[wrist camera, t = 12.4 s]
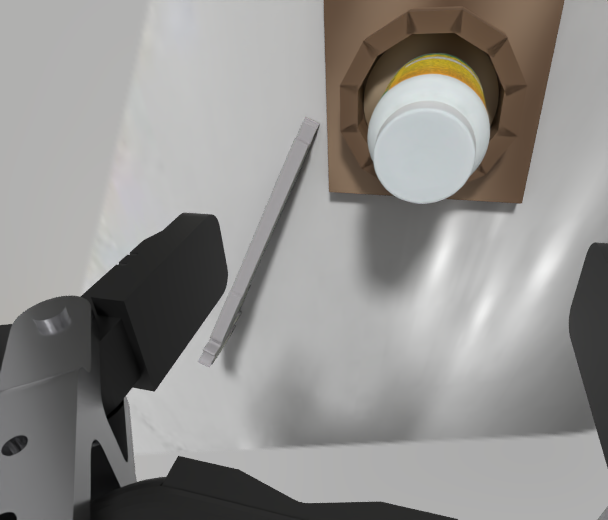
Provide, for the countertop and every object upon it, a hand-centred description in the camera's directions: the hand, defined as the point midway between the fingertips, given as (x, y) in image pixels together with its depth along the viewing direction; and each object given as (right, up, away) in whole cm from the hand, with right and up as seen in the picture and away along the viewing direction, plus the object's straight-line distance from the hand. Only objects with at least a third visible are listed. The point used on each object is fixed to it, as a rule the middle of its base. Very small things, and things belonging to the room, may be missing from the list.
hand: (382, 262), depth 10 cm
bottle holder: (+6, +10, +17) cm, 20 cm away
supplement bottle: (+6, +9, +16) cm, 19 cm away
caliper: (-5, +2, +26) cm, 27 cm away
